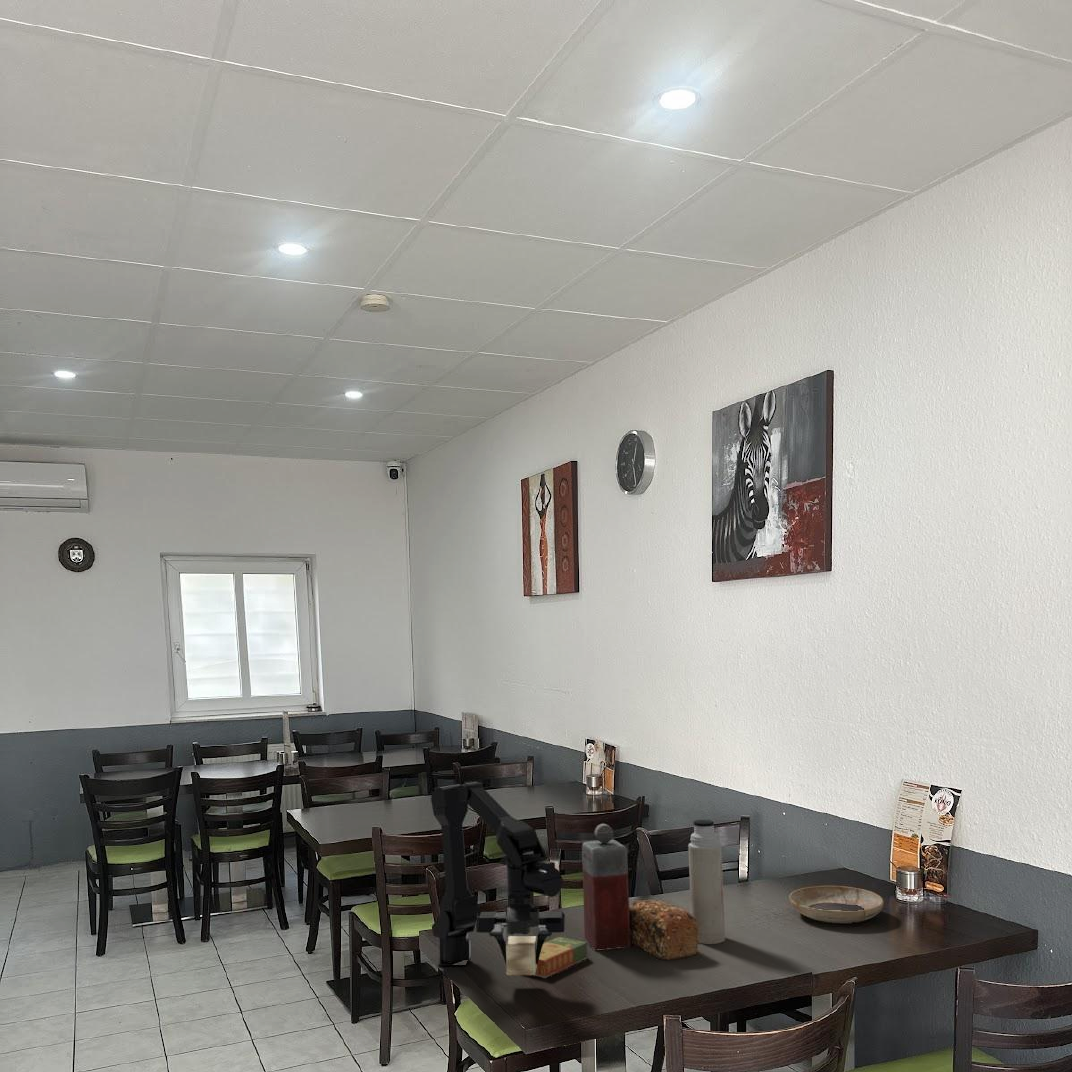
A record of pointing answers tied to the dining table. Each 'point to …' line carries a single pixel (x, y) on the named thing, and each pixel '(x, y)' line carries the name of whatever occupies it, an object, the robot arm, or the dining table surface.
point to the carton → (560, 955)
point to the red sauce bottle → (605, 891)
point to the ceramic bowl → (836, 894)
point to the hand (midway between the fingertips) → (521, 963)
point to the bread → (663, 929)
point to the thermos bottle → (706, 882)
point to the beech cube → (521, 955)
